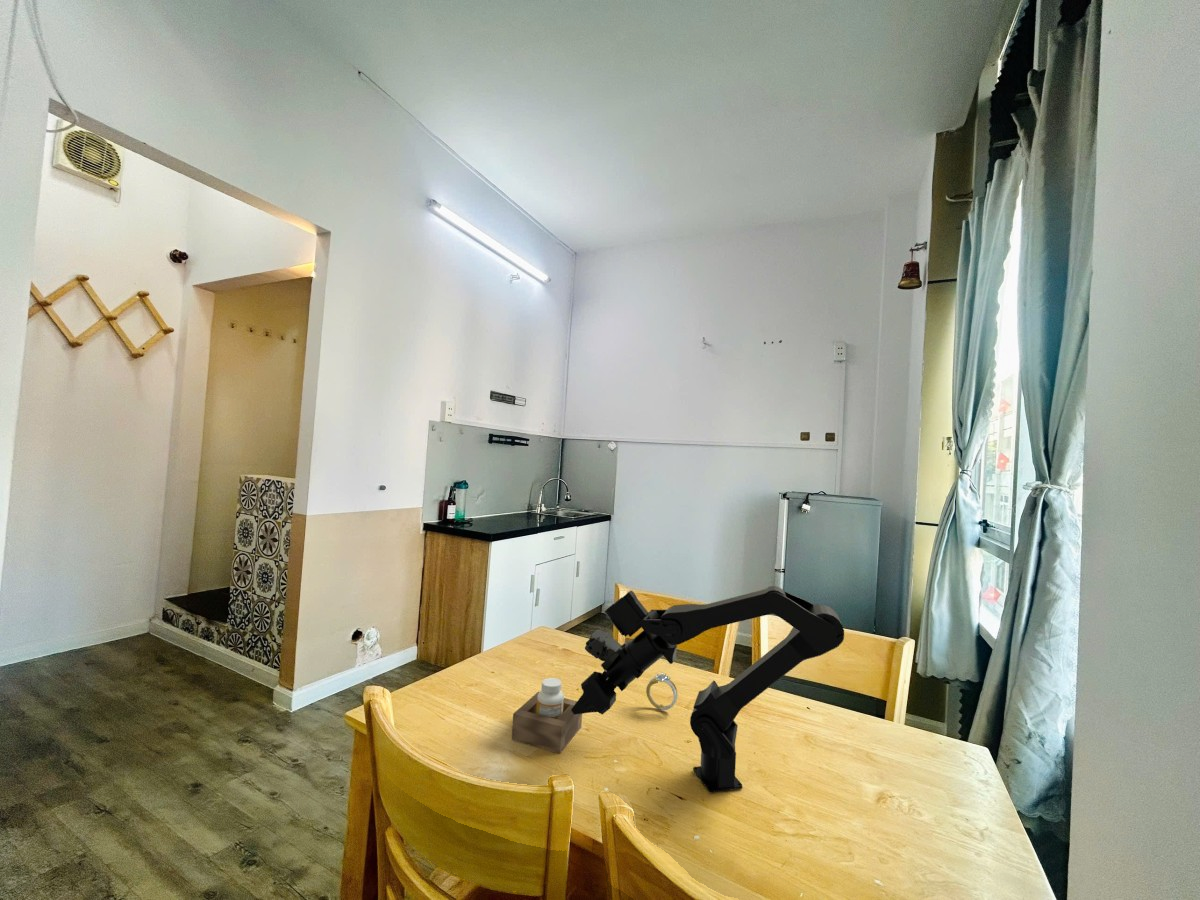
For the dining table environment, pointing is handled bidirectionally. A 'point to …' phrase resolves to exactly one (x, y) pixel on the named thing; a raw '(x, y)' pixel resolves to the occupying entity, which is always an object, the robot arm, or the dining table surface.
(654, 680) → the diamond engagement ring
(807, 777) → the dining table surface
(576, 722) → the walnut well block
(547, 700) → the supplement bottle
